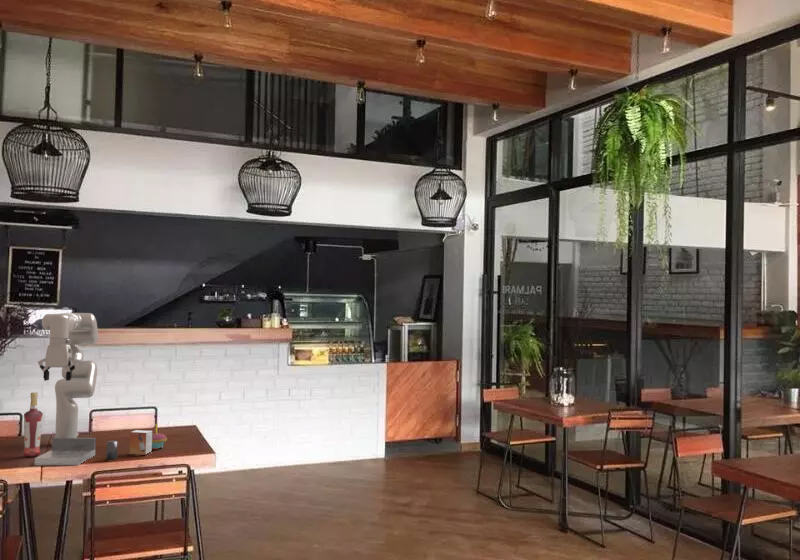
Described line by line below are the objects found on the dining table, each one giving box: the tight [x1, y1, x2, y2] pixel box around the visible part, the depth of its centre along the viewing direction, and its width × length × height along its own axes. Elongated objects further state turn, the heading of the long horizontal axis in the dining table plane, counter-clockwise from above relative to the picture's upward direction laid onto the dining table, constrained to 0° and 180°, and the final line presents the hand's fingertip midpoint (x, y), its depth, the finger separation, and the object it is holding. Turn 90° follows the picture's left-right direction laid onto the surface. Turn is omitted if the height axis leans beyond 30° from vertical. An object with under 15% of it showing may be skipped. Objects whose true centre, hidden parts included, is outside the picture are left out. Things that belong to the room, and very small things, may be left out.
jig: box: [34, 437, 97, 466], centre depth 291 cm, size 18×18×8 cm
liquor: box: [22, 392, 44, 458], centre depth 298 cm, size 7×7×28 cm
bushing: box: [105, 440, 119, 461], centre depth 293 cm, size 4×4×8 cm
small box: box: [128, 429, 153, 454], centre depth 305 cm, size 8×6×10 cm
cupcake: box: [152, 423, 168, 448], centre depth 317 cm, size 9×8×12 cm
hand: (57, 380), depth 300 cm, fingers open, 9 cm apart
